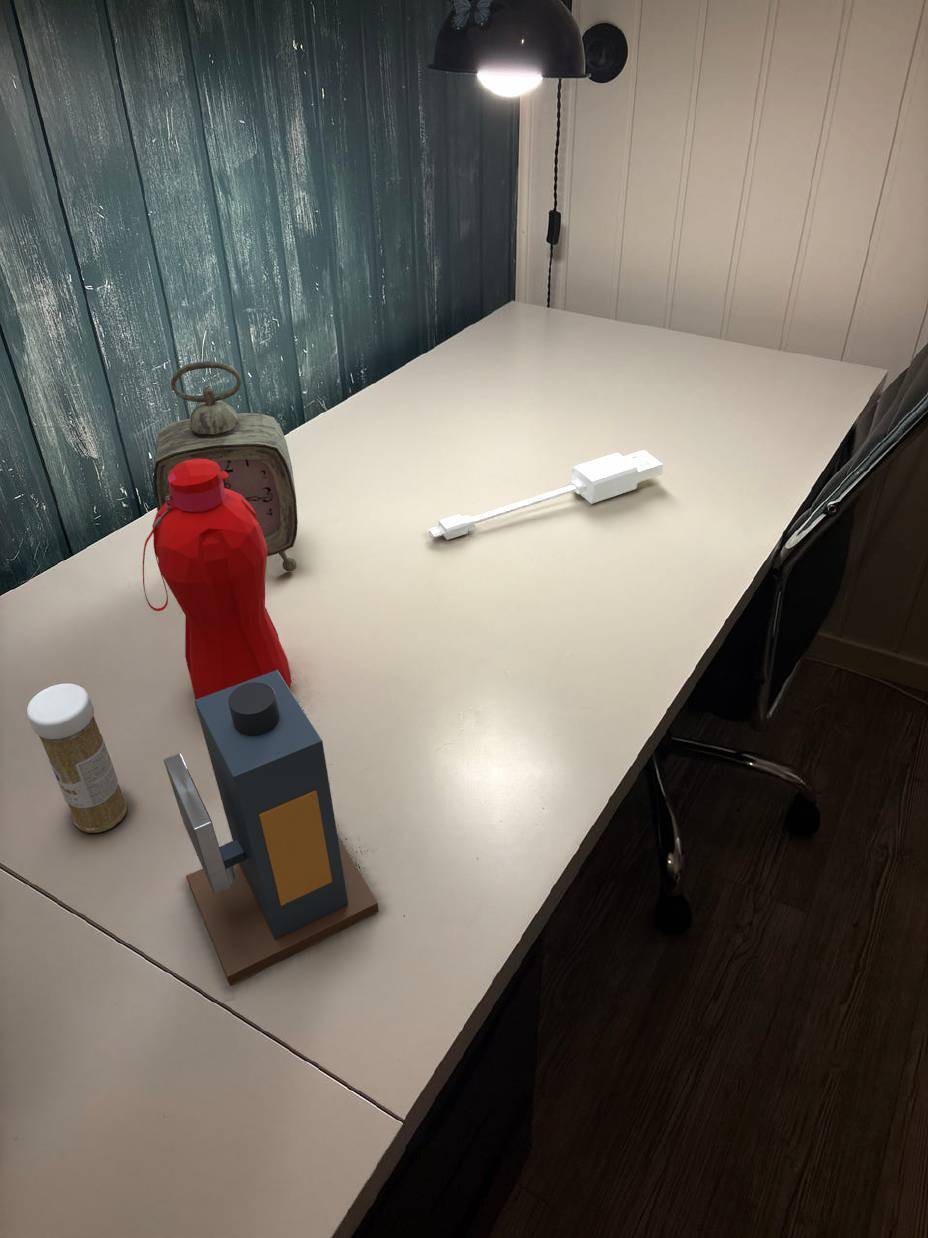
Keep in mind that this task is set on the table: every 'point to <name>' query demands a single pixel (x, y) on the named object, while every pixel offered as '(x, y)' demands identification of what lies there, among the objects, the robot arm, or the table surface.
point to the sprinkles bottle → (78, 756)
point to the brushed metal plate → (197, 823)
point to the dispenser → (273, 832)
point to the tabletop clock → (234, 458)
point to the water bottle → (216, 579)
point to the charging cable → (573, 488)
